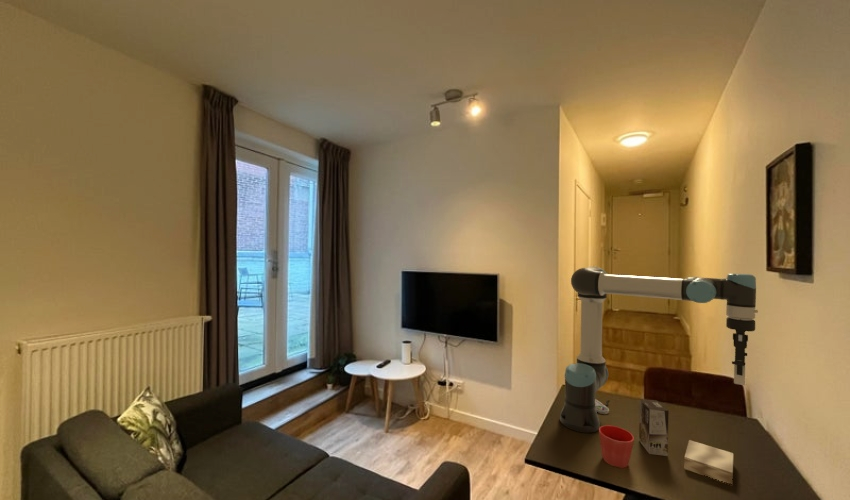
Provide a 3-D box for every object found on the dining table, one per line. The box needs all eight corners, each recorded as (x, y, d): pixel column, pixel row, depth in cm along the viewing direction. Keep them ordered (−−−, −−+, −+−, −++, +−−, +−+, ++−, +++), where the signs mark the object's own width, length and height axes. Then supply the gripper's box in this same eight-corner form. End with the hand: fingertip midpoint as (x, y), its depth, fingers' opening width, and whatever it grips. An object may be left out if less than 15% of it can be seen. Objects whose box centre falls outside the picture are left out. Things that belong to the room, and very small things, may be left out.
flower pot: (631, 456, 123) (632, 428, 123) (635, 474, 113) (635, 444, 113) (598, 448, 128) (598, 422, 128) (598, 465, 118) (599, 436, 118)
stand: (684, 468, 117) (684, 456, 117) (689, 450, 127) (689, 439, 127) (732, 485, 109) (732, 472, 108) (733, 465, 119) (733, 453, 119)
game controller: (580, 400, 169) (580, 396, 169) (605, 399, 171) (605, 395, 170) (598, 415, 154) (598, 411, 154) (625, 414, 156) (625, 410, 156)
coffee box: (668, 456, 123) (669, 411, 123) (648, 454, 125) (649, 409, 125) (657, 442, 132) (657, 400, 132) (638, 440, 134) (639, 398, 133)
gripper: (756, 325, 111) (755, 392, 111) (754, 314, 129) (753, 372, 129) (725, 321, 116) (723, 385, 116) (727, 312, 134) (726, 367, 134)
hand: (739, 378), depth 123 cm, fingers open, 13 cm apart
